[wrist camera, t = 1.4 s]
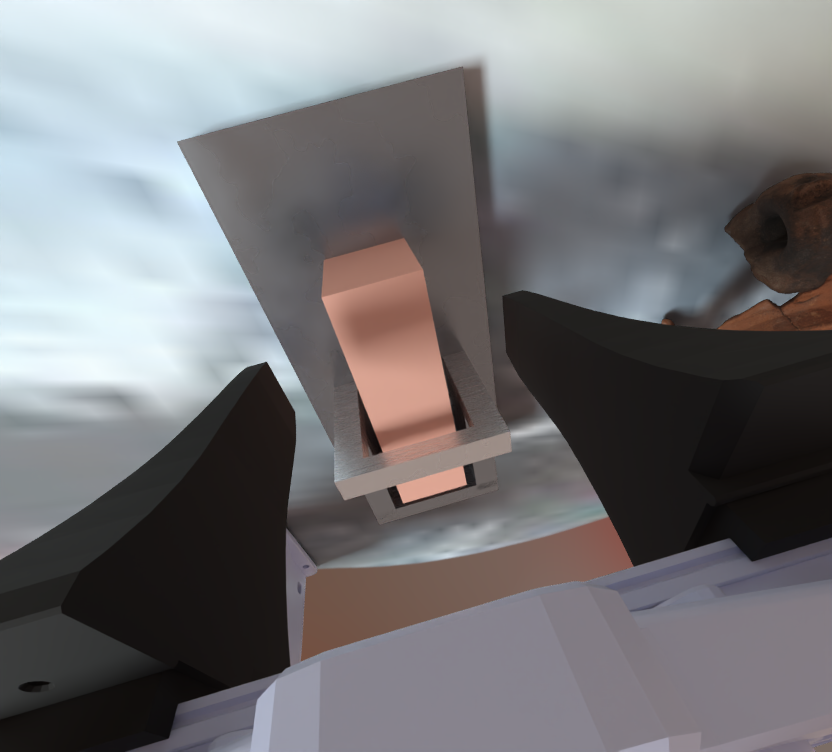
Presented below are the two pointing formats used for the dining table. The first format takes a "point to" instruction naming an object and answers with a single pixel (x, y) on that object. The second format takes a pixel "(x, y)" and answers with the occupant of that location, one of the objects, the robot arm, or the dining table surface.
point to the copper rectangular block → (392, 351)
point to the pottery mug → (788, 254)
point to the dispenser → (355, 230)
